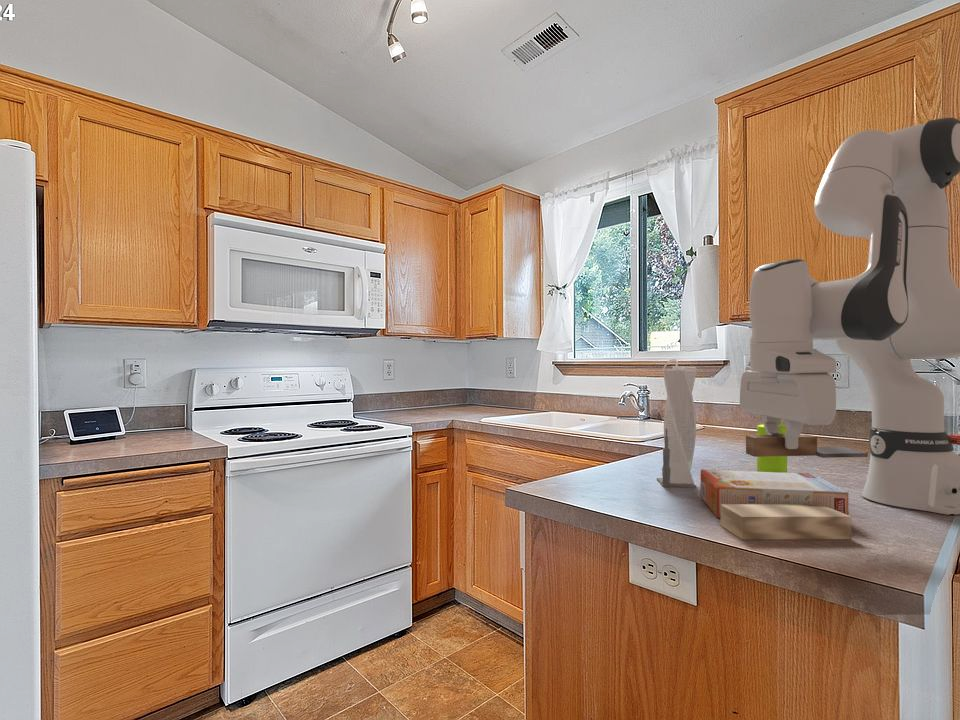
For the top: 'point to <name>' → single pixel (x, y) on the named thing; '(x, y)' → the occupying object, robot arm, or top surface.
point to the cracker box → (769, 489)
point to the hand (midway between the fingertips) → (782, 446)
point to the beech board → (785, 521)
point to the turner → (806, 447)
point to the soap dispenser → (771, 462)
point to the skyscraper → (679, 427)
